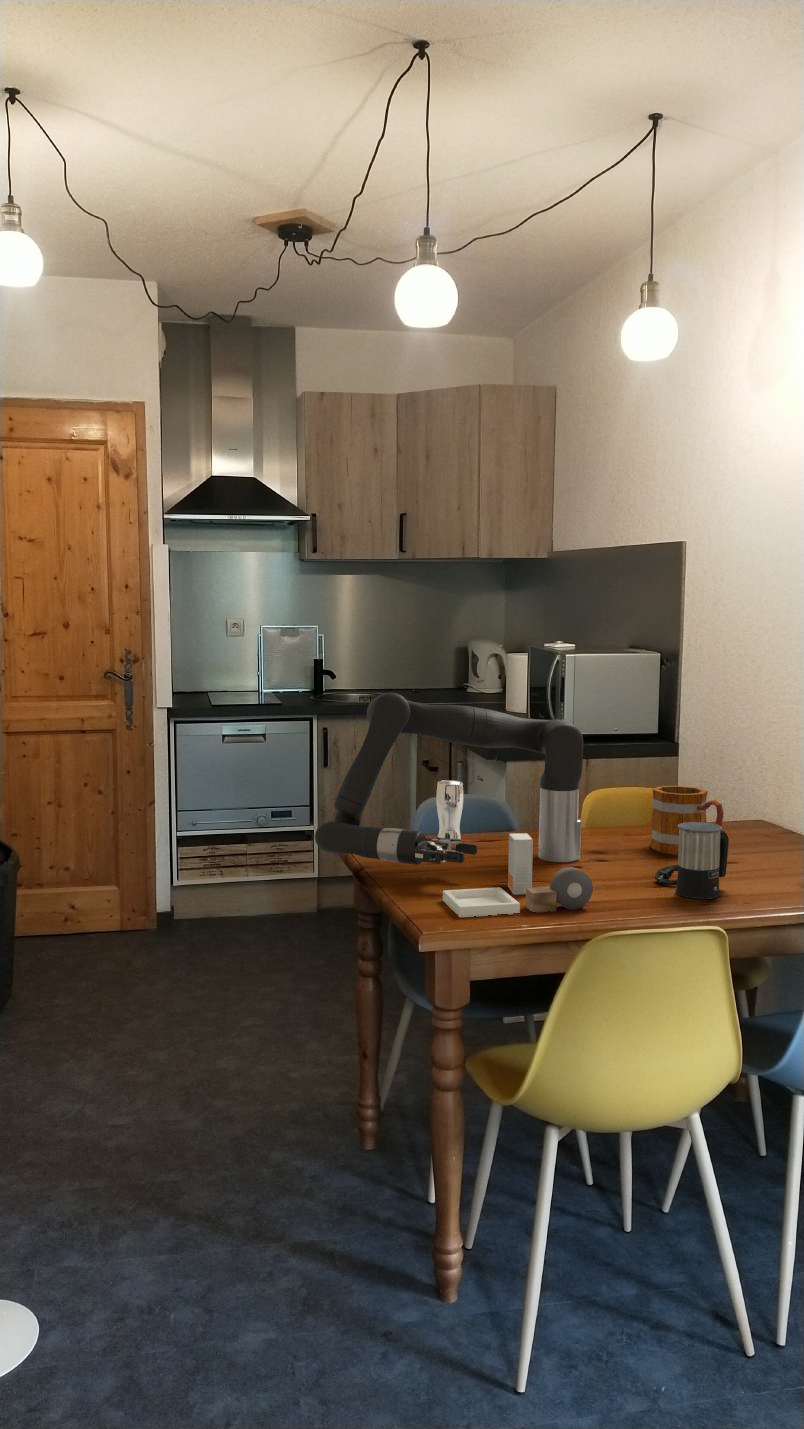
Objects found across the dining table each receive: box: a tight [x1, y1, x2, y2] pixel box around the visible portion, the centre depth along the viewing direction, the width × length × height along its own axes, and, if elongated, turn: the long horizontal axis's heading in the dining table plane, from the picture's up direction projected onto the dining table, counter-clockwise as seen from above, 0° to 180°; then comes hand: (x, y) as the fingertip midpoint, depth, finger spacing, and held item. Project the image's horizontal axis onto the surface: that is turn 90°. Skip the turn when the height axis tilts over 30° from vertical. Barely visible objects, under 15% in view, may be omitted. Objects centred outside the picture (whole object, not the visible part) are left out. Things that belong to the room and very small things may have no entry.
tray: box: [442, 886, 521, 918], centre depth 223 cm, size 12×12×2 cm
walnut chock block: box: [525, 886, 557, 913], centre depth 222 cm, size 5×4×4 cm
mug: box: [650, 785, 724, 856], centre depth 273 cm, size 20×14×15 cm
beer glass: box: [435, 779, 464, 841], centre depth 284 cm, size 7×7×15 cm
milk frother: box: [654, 822, 730, 900], centre depth 237 cm, size 14×16×15 cm
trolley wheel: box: [549, 866, 594, 910], centre depth 223 cm, size 8×4×8 cm, turn 104°
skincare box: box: [507, 832, 534, 896], centre depth 235 cm, size 6×4×12 cm
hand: (470, 853), depth 239 cm, fingers open, 8 cm apart
